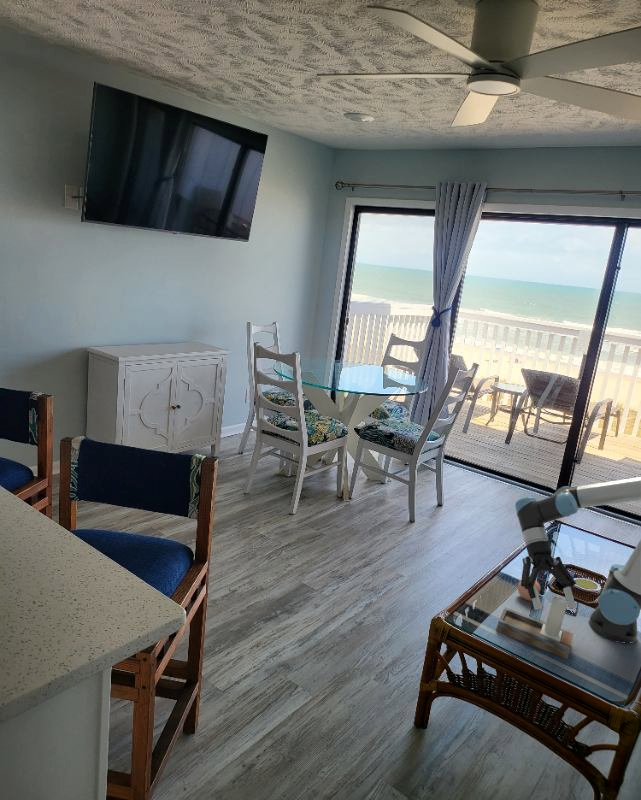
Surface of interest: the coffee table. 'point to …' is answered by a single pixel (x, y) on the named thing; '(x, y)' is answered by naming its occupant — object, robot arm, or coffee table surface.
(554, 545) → the coffee table surface
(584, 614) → the coffee table surface
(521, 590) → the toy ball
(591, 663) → the coffee table surface
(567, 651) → the track
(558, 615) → the disc
